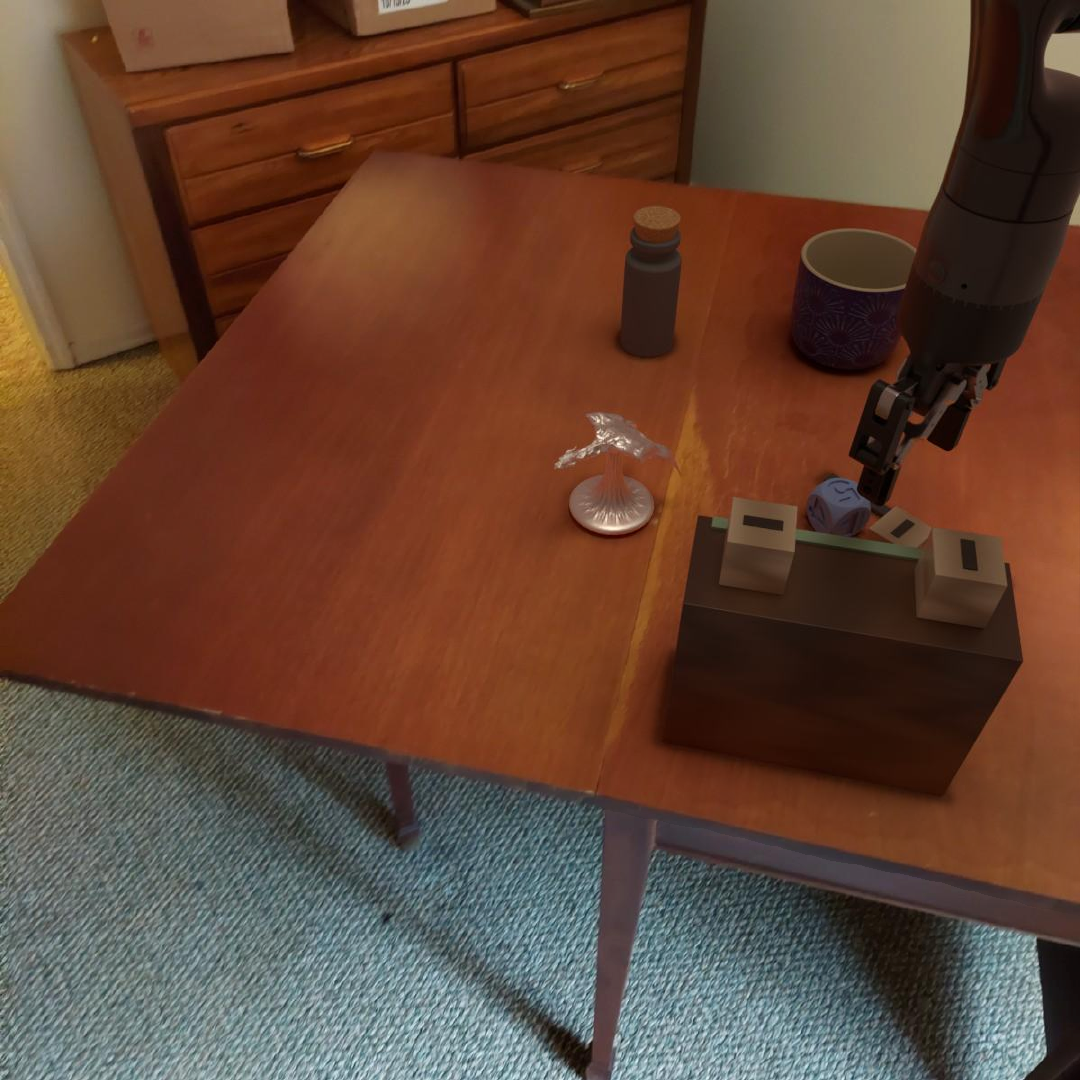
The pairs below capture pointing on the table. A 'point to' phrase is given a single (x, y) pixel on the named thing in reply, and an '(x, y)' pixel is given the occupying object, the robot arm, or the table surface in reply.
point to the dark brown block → (841, 648)
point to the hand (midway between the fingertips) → (906, 470)
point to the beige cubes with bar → (896, 526)
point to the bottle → (651, 282)
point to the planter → (850, 297)
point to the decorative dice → (838, 508)
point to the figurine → (613, 477)
